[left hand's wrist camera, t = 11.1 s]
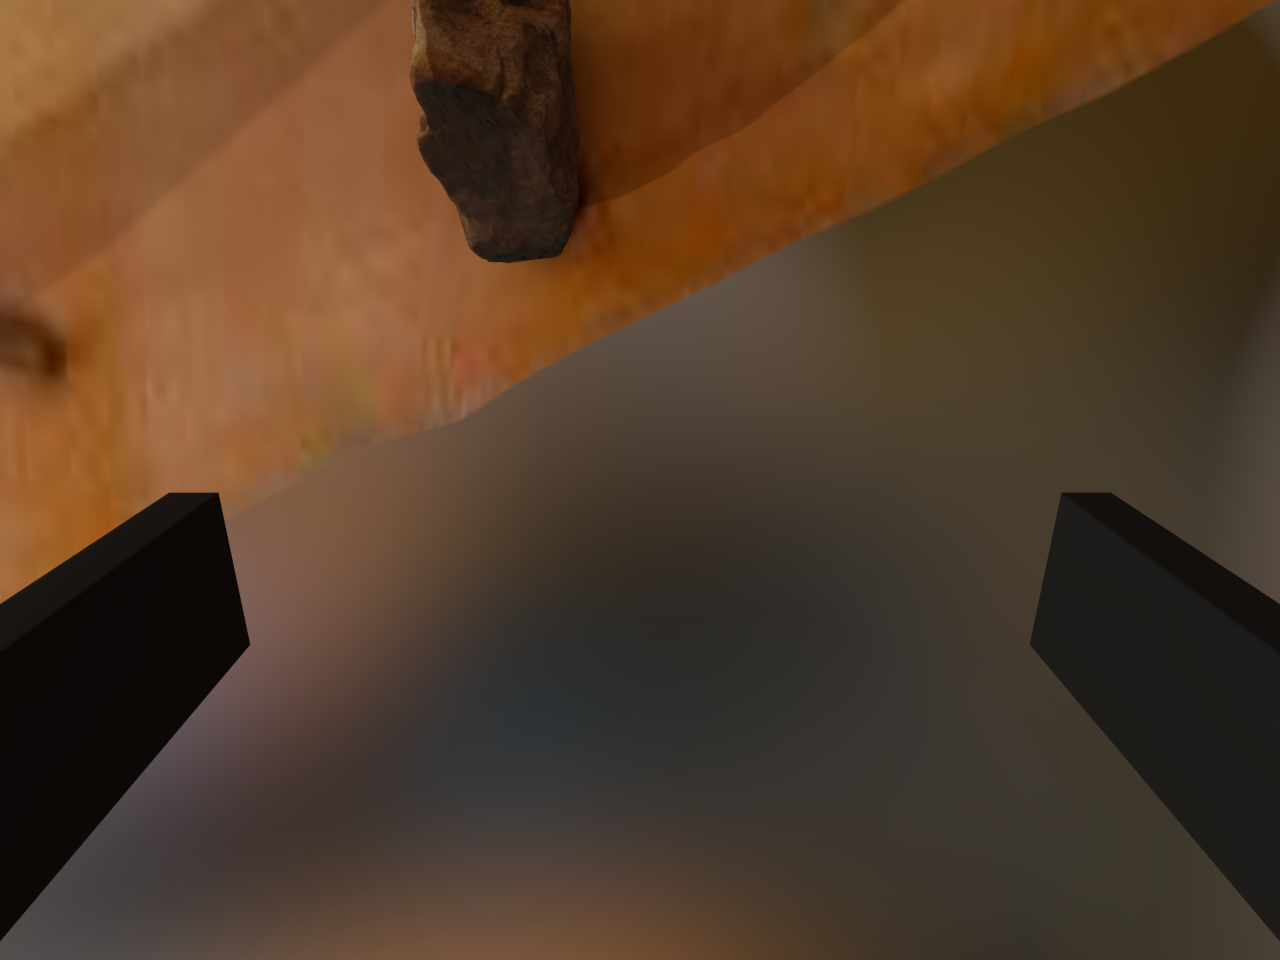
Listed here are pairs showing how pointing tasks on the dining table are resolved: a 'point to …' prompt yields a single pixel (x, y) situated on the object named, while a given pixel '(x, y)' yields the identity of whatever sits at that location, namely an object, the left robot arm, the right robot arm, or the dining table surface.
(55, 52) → the dining table surface
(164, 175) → the dining table surface
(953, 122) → the dining table surface
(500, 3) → the decorative rock
